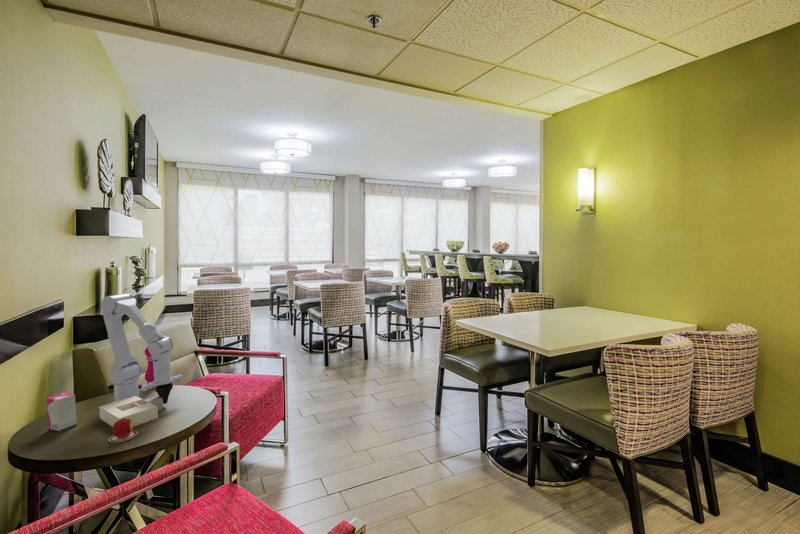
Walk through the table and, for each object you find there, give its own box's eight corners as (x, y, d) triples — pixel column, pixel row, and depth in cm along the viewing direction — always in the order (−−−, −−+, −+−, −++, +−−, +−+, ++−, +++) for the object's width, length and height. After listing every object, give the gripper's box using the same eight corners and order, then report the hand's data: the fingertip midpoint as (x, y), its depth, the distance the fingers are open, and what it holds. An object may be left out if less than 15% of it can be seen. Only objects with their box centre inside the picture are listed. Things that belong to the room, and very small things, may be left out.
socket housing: (100, 418, 147) (99, 406, 147) (136, 407, 157) (135, 395, 156) (120, 431, 137) (119, 418, 136) (158, 418, 146) (157, 406, 146)
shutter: (133, 413, 150) (132, 403, 150) (136, 412, 151) (135, 402, 151) (139, 416, 147) (139, 406, 147) (142, 415, 148) (142, 405, 148)
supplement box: (77, 424, 142) (75, 393, 142) (59, 432, 137) (56, 400, 136) (66, 422, 144) (64, 391, 143) (47, 430, 139) (45, 398, 138)
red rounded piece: (130, 429, 138) (128, 411, 138) (142, 435, 134) (141, 416, 134) (103, 440, 131) (102, 420, 131) (116, 446, 127) (114, 426, 127)
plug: (140, 412, 152) (139, 401, 152) (157, 406, 157) (157, 395, 157) (145, 415, 149) (144, 403, 149) (163, 409, 154) (162, 398, 154)
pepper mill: (167, 384, 181) (164, 341, 180) (150, 389, 175) (147, 344, 173) (158, 381, 185) (156, 339, 183) (142, 386, 179) (139, 342, 177)
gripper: (146, 376, 148) (149, 412, 149) (186, 365, 159) (188, 398, 160) (138, 373, 152) (140, 407, 153) (177, 362, 163) (179, 395, 164)
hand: (164, 403), depth 157 cm, fingers closed
